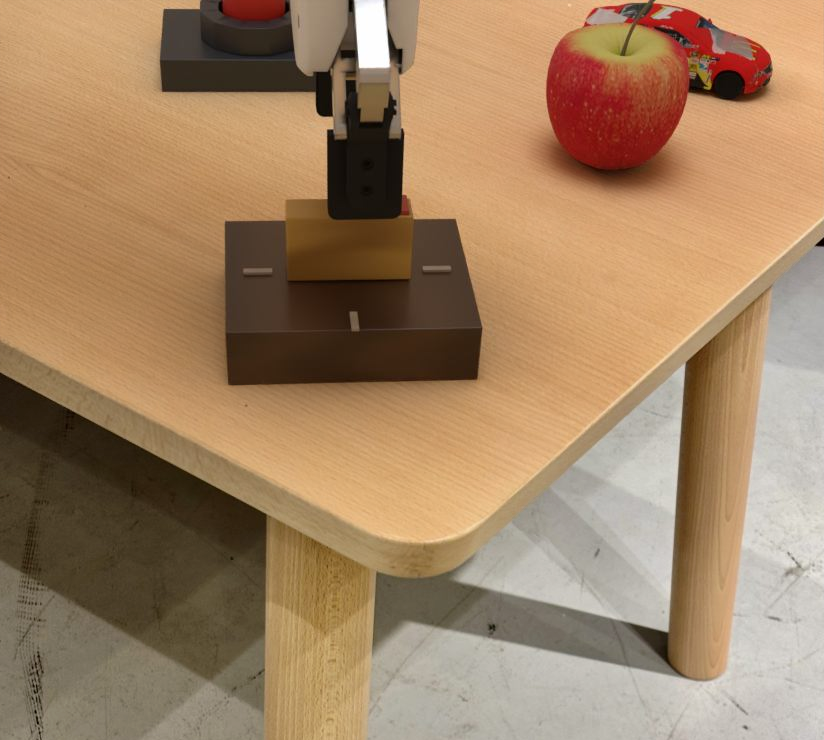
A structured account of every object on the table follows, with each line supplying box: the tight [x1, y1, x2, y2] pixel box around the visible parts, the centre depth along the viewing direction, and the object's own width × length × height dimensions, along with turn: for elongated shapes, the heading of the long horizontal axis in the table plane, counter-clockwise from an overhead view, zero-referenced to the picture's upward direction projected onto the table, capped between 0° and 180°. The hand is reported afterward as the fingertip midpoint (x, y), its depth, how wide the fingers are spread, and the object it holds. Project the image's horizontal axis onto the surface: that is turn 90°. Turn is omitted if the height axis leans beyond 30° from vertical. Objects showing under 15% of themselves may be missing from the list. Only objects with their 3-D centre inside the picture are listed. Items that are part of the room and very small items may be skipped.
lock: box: [284, 194, 415, 281], centre depth 67 cm, size 6×2×4 cm, turn 96°
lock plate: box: [224, 218, 483, 385], centre depth 69 cm, size 12×10×3 cm
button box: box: [159, 0, 316, 93], centre depth 90 cm, size 12×8×4 cm, turn 96°
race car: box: [582, 2, 774, 100], centre depth 93 cm, size 13×5×4 cm, turn 69°
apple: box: [545, 0, 690, 171], centre depth 81 cm, size 8×8×10 cm
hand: (356, 162), depth 64 cm, fingers open, 9 cm apart
